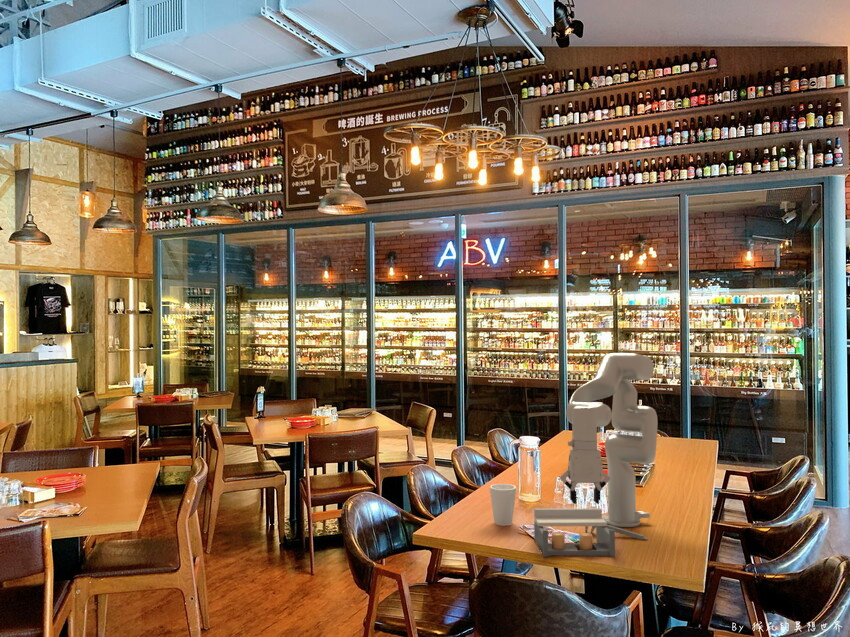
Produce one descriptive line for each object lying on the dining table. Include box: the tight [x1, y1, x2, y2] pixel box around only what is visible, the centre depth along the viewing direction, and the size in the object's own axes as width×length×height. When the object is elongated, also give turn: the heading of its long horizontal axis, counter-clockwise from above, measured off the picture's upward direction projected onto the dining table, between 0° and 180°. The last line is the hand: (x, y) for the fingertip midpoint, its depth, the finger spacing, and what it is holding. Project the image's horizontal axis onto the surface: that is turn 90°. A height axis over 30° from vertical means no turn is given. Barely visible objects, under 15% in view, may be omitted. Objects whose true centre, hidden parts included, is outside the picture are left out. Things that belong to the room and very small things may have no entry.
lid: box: [533, 507, 608, 527], centre depth 205 cm, size 22×7×4 cm, turn 90°
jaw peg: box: [578, 532, 593, 550], centre depth 197 cm, size 4×4×6 cm
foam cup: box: [489, 483, 517, 527], centre depth 227 cm, size 10×9×13 cm
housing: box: [533, 520, 616, 558], centre depth 201 cm, size 22×15×8 cm
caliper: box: [584, 524, 649, 541], centre depth 212 cm, size 20×1×6 cm, turn 66°
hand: (585, 502), depth 197 cm, fingers open, 6 cm apart
